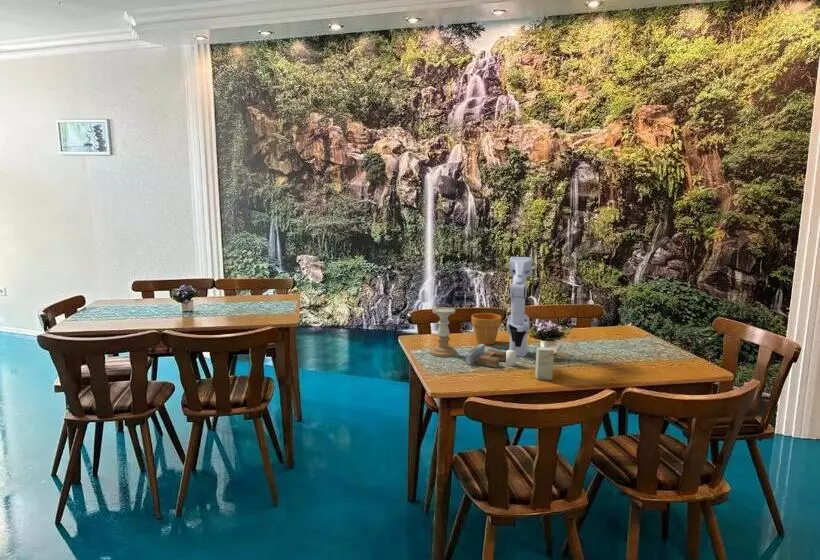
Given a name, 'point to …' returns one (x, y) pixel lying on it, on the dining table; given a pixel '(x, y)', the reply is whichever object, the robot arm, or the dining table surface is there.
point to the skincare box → (544, 363)
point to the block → (491, 358)
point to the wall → (475, 354)
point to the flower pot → (486, 327)
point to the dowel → (510, 357)
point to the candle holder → (443, 334)
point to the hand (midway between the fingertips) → (516, 344)
